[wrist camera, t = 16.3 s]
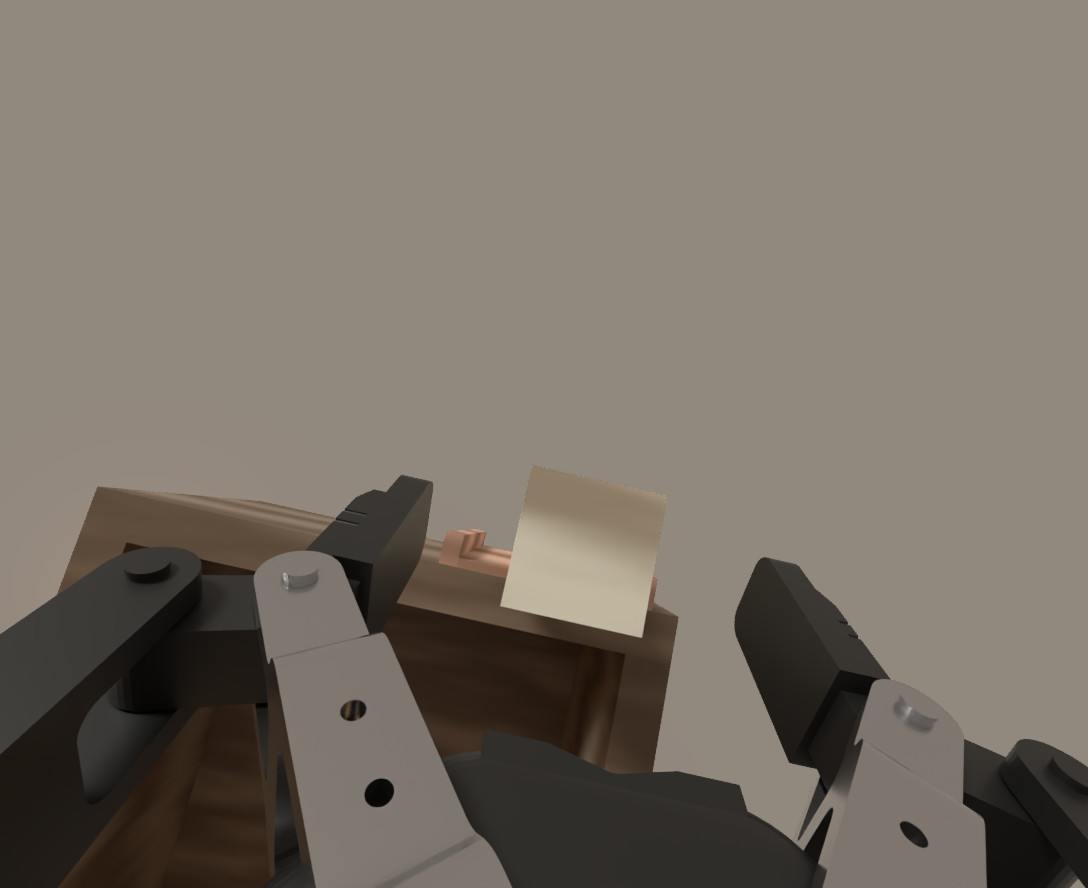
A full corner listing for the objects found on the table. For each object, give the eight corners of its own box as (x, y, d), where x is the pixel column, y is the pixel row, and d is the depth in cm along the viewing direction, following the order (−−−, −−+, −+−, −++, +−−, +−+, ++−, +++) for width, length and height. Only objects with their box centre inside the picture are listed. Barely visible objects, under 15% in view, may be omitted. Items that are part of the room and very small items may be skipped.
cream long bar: (641, 637, 12) (667, 495, 13) (499, 606, 12) (532, 465, 13) (562, 563, 36) (572, 514, 36) (514, 552, 36) (525, 504, 36)
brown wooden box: (513, 1598, 17) (683, 584, 22) (-259, 1436, 16) (109, 455, 22) (517, 1110, 30) (621, 562, 36) (98, 1020, 30) (268, 482, 36)
